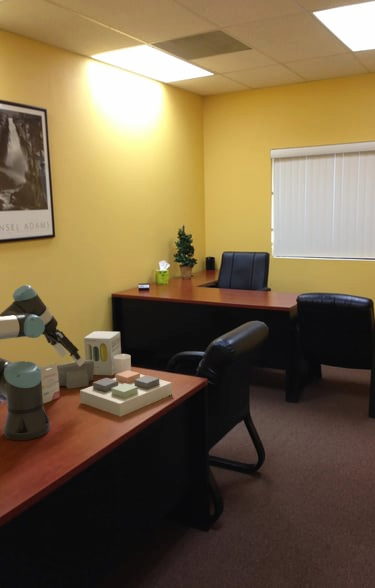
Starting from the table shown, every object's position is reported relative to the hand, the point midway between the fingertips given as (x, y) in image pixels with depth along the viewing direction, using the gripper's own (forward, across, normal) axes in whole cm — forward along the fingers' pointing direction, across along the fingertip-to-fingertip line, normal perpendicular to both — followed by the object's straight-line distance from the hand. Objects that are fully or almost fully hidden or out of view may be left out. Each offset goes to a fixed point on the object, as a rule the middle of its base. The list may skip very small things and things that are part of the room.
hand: (72, 359), depth 205 cm
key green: (+16, -22, -1) cm, 27 cm away
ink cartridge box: (+9, +6, +16) cm, 20 cm away
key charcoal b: (+22, -21, -11) cm, 32 cm away
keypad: (+21, -16, -4) cm, 27 cm away
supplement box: (+30, +21, -14) cm, 39 cm away
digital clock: (+19, +13, +2) cm, 23 cm away
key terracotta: (+22, -10, -9) cm, 26 cm away
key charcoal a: (+15, -11, +1) cm, 19 cm away
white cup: (+29, +6, -14) cm, 33 cm away
